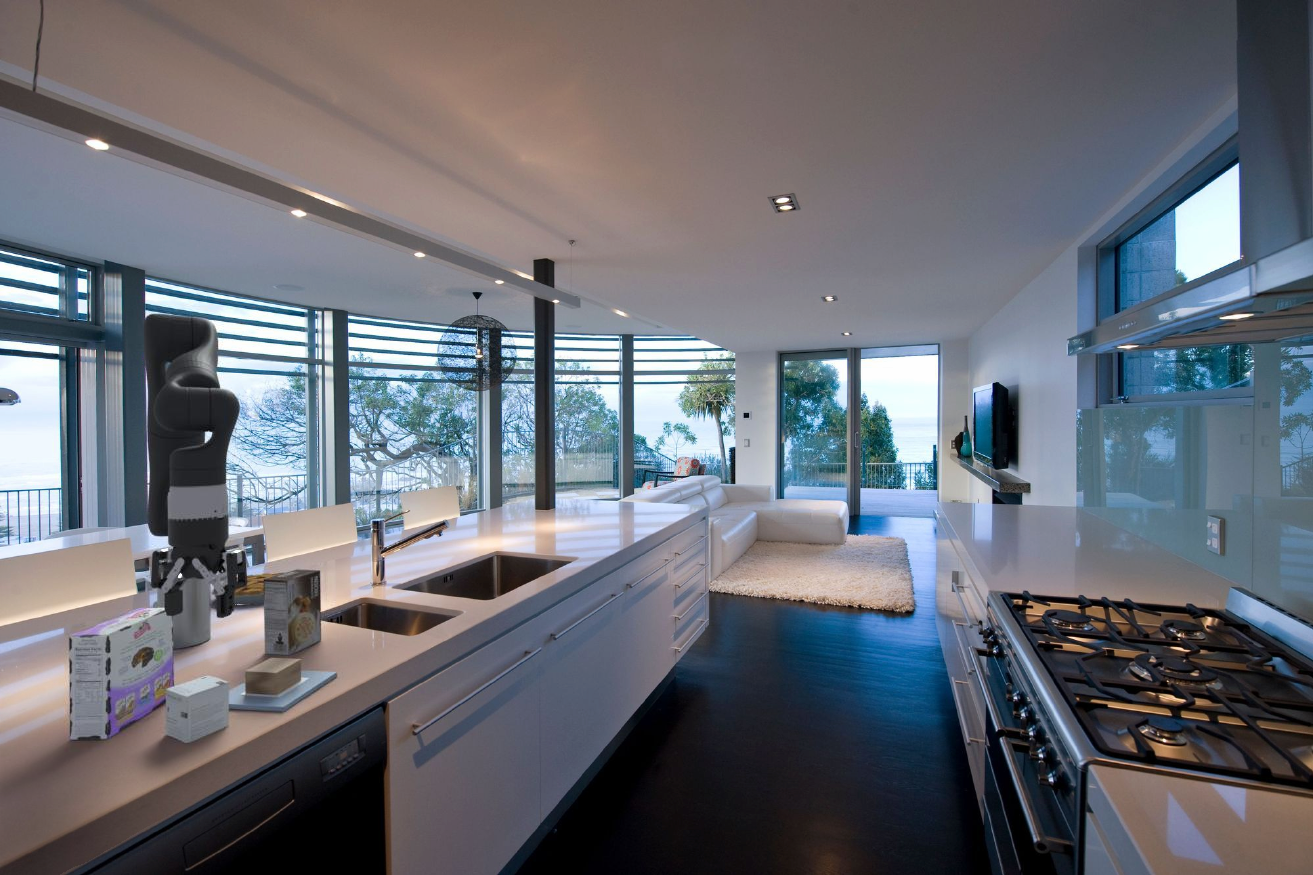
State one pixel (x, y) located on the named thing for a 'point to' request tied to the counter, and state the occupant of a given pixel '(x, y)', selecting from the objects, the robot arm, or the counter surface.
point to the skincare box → (197, 708)
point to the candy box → (119, 672)
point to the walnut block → (272, 676)
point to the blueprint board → (285, 698)
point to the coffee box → (292, 611)
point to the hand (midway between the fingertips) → (199, 615)
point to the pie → (251, 590)
